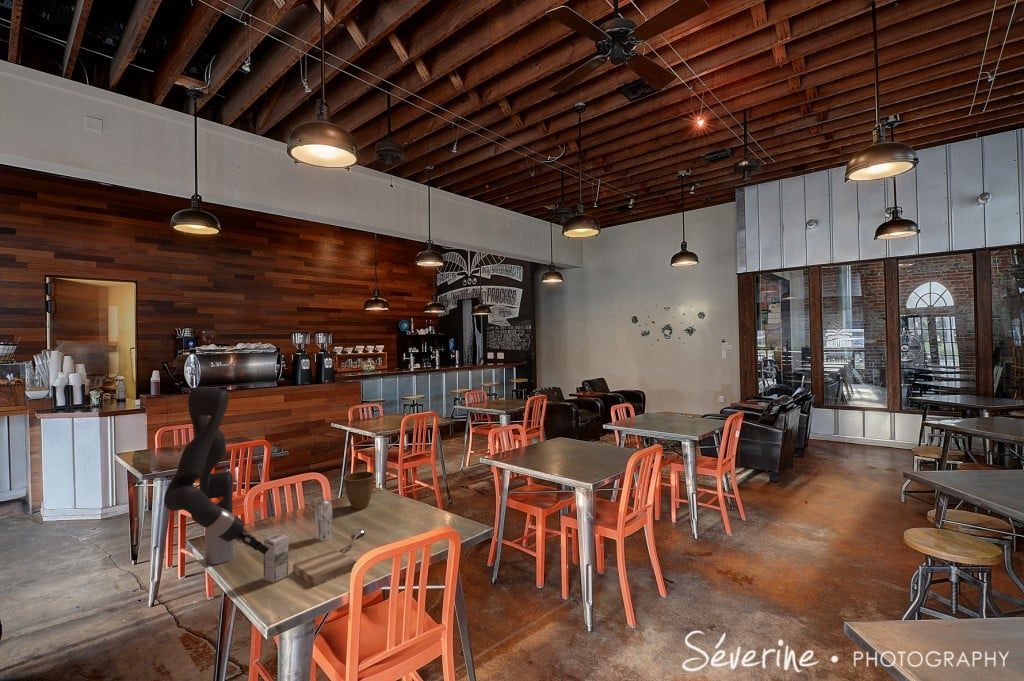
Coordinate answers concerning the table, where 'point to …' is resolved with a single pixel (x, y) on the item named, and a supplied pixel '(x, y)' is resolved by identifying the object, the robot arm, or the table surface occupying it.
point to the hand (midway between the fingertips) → (261, 547)
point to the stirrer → (356, 532)
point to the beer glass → (323, 519)
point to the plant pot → (359, 488)
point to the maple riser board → (323, 567)
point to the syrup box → (276, 558)
